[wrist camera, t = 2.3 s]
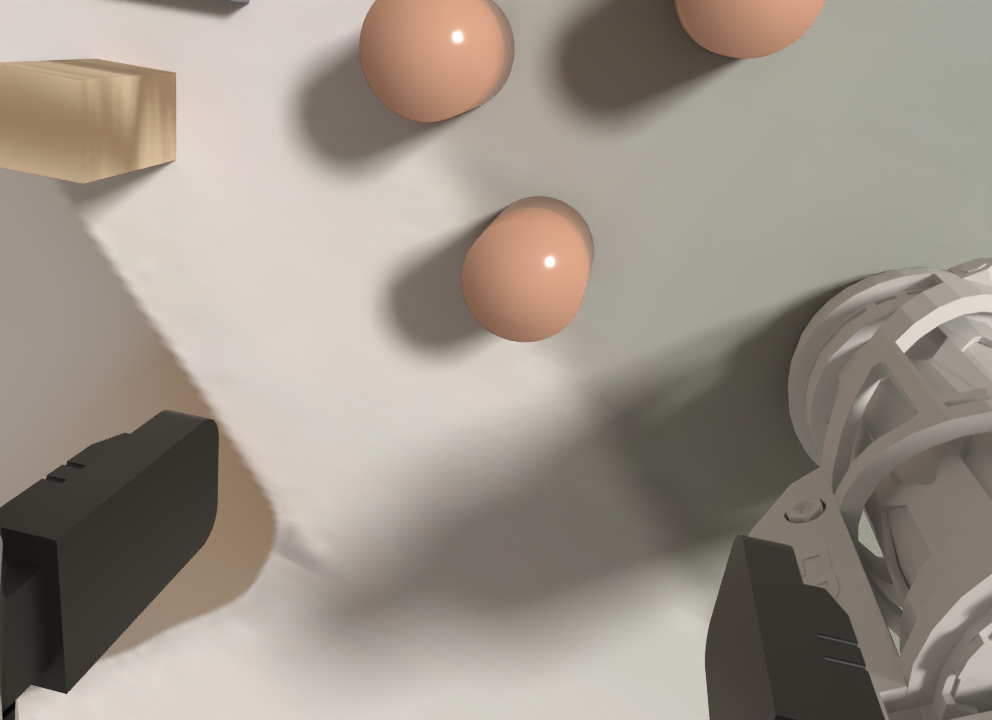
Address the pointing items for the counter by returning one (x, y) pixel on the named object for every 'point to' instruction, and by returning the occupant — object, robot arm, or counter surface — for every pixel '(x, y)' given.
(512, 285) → the cylinder
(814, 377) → the lantern
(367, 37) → the peach dome knob
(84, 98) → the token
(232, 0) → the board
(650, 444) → the counter surface
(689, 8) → the peach rounded cylinder
